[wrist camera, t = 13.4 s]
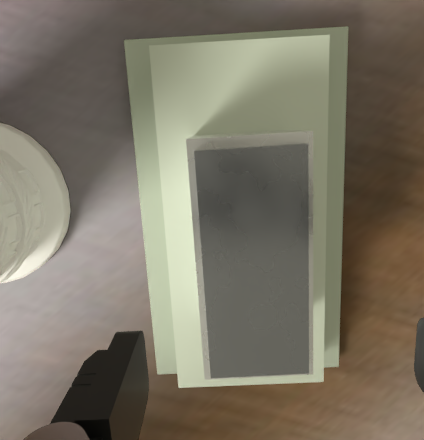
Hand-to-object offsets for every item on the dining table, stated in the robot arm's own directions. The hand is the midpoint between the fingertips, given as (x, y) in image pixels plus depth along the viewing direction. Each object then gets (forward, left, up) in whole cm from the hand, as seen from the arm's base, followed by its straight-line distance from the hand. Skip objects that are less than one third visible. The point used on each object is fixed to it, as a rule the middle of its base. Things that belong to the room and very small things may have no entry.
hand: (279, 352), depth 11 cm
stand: (0, 0, -17) cm, 17 cm away
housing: (0, 0, -13) cm, 13 cm away
